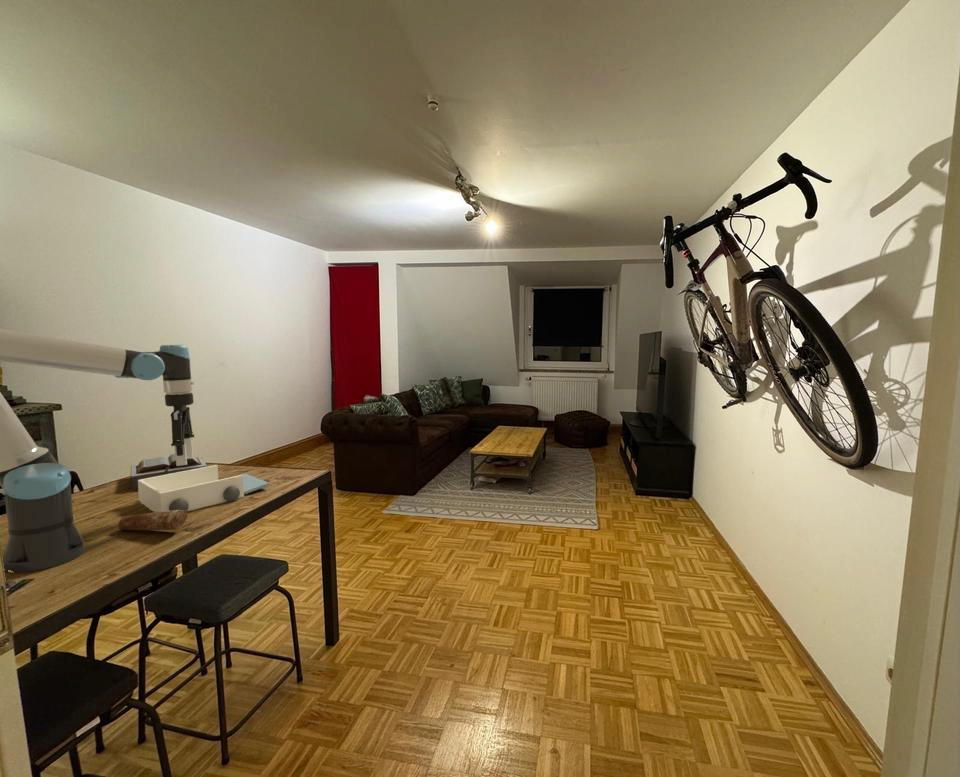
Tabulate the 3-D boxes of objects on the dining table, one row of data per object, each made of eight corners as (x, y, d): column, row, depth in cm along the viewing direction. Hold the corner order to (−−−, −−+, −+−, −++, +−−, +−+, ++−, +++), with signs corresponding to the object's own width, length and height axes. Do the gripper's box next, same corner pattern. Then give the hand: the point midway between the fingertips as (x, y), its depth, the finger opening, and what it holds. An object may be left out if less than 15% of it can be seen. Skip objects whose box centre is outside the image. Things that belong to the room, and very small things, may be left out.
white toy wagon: (163, 519, 137) (162, 494, 136) (137, 501, 152) (136, 479, 152) (246, 497, 157) (245, 476, 156) (216, 484, 172) (214, 464, 171)
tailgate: (243, 492, 159) (269, 482, 166) (219, 481, 171) (244, 473, 178) (243, 494, 159) (269, 485, 166) (219, 484, 171) (244, 475, 178)
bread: (177, 534, 125) (171, 517, 124) (115, 534, 127) (109, 517, 125) (192, 521, 131) (187, 505, 130) (133, 521, 133) (128, 505, 131)
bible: (206, 485, 172) (205, 460, 171) (119, 495, 160) (117, 468, 159) (211, 469, 193) (210, 447, 192) (135, 477, 180) (133, 454, 180)
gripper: (185, 396, 133) (191, 468, 136) (198, 388, 153) (204, 451, 155) (155, 397, 130) (162, 471, 133) (173, 389, 150) (179, 454, 152)
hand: (185, 461), depth 144 cm, fingers open, 9 cm apart
